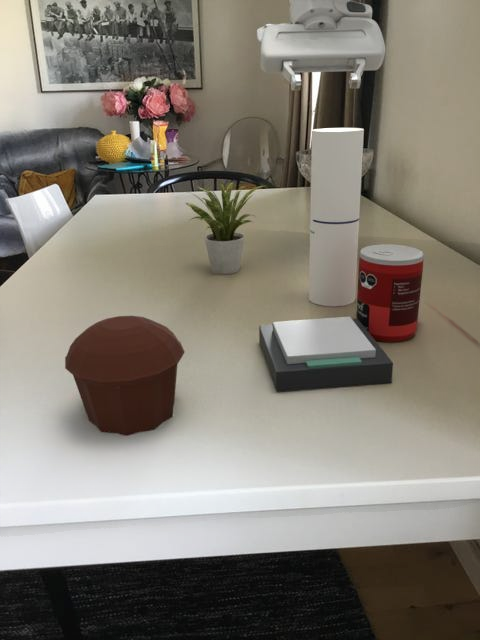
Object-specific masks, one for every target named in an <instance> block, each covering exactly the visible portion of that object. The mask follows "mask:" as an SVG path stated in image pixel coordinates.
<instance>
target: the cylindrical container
mask: <svg viewBox="0 0 480 640" xmlns="http://www.w3.org/2000/svg"><path fill="white" fill-rule="evenodd" d="M364 131H365V129H364V128H362V127H361V128H360V127H326V128H313V129H311V157H310V159H311V160H310V162H311V163H310V164H311V165H310V207H309V208H310V210H309V211H310V212H309V213H310V216H309V219H310V220H309V259H308V260H309V263H308V264H309V265H308V300H309V301H310V302H311V303H313V304H314V305H317V306H318V305H319V306H323V307H343V306H344V307H345V306H348V305H351V304H353V303H354V302H355V301H356V290H357V289H356V288H357V271H358V270H357V268H358V250H359V231H360V212H361V210H360V209H361V192H362V173H363V157H364V156H363V153H364V137H365V136H364V135H365V132H364Z"/></svg>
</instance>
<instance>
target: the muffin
mask: <svg viewBox="0 0 480 640" xmlns="http://www.w3.org/2000/svg"><path fill="white" fill-rule="evenodd" d="M184 354H185V349H184V347H183V345H182V343H181V341H180V340H179V339H178V338H177V336H176V335H175V333H174V332H173V331H172V330H171V329H170V328H169V327H167V326H165V325H164V324H161V323H159V322H157V321H155V320H152V319H150V318H147V317H145V316H139V315H138V316H137V315H117V316H113V317H108V318H105V319H102V320H99V321H98V322H95V323H93V324H92V325H89V326H88V327H87V328H86V329H85V330H83V331H82V332H81V333H80V334H79V335H78V336H77V337H76V338H75V339H74V340H73V341H72V343H71V344H70V346H69V348H68V351H67V353H66V356H65V357H64V368H65V370H66V371H68V373H70V374H71V375H72V376H73V379H74V382H75V385H76V387H77V391H78V393H79V396H80V400H81V402H82V405H83V408H84V411H85V414H86V416H87V420H88V421H89V422H90V423H92V425H94V426H95V427H96V428H97V429H98V430H99V432H100V433H105V434H106V433H107V434H116V435H120V436H126V437H128V436H131V435H135V434H139V433H143V432H148V431H153V430H156V429H157V428H158V427H159V426H160V425H162V424H163V423H164V422H166V421H168V420H170V419H171V418H173V414H174V405H175V399H176V387H177V375H178V365H179V363H180V361H181V359H182V357H183V356H184Z"/></svg>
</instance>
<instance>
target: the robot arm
mask: <svg viewBox="0 0 480 640" xmlns="http://www.w3.org/2000/svg"><path fill="white" fill-rule="evenodd" d="M287 1H288V4H289V22H281V23H265V24H264V26H260V27H259V28H257V30H256V33H255V35H256V41H257V43H258V45H259V46H260V55H259V56H260V57H259V58H260V59H259V63H260V64H259V67H260V69H261V71H262V72H263V73H265V74H282V77H283V78H284V79H285V80H286V81H287V82H288V84H290V90H291V91H301V90H302V76H301V74H299V73H329V72H330V73H331V72H350V74H349V78H348V85H349V89H351V90H352V89H360V88H361V83H362V78H361V77H362V76H363V73H364V72H365V71H378V70H379V69H380V68H381V66H382V65H383V63H384V60H385V55H386V49H387V48H386V44H385V39H384V36H383V33H382V31H381V28H380V26H379V24H378V23H377V21H376V20H374V19H372V18H373V8H372V6H371V5H370V4H367V3H363V2H359V1H355V0H287Z"/></svg>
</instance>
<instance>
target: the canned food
mask: <svg viewBox="0 0 480 640" xmlns="http://www.w3.org/2000/svg"><path fill="white" fill-rule="evenodd" d="M358 258H359V259H358V270H357V271H358V275H357V295H356V313H355V319H358V320H359V321H360V322H361V324H362V325H363V326H364V327H365V329H366V330H367V331H368V332H369V334H370V335H371V336H372V337H373V338H374V340H375V341H378V342H385V343H387V342H388V343H398V342H403V341H407V340H410V339H411V338H413V337H414V335H415V334H416V332H417V328H418V321H419V320H418V319H419V311H420V301H421V293H422V292H421V291H422V280H423V272H424V260H425V258H424V252H423V251H422V250H421V249H418V248H416V247H413V246H409V245H402V244H392V243H388V244H387V243H382V244H372V245H367V246H364V247H362V248H361V249H360V250H359V257H358Z"/></svg>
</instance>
